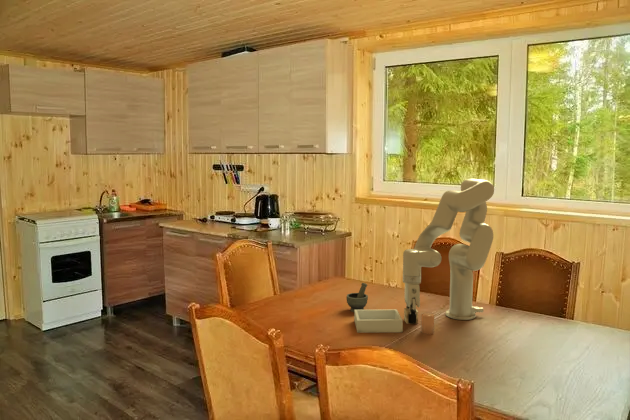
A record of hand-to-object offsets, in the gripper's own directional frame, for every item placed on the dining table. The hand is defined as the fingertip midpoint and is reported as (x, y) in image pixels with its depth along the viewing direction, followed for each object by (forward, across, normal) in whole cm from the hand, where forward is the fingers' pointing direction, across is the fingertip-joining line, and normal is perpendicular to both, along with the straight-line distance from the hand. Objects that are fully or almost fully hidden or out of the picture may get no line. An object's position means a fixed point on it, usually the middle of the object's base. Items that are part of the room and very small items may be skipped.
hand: (410, 320), depth 219 cm
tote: (+1, -6, +15) cm, 16 cm away
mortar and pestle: (+1, +16, +21) cm, 26 cm away
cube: (+1, 0, 0) cm, 1 cm away
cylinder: (+1, -13, -4) cm, 14 cm away
